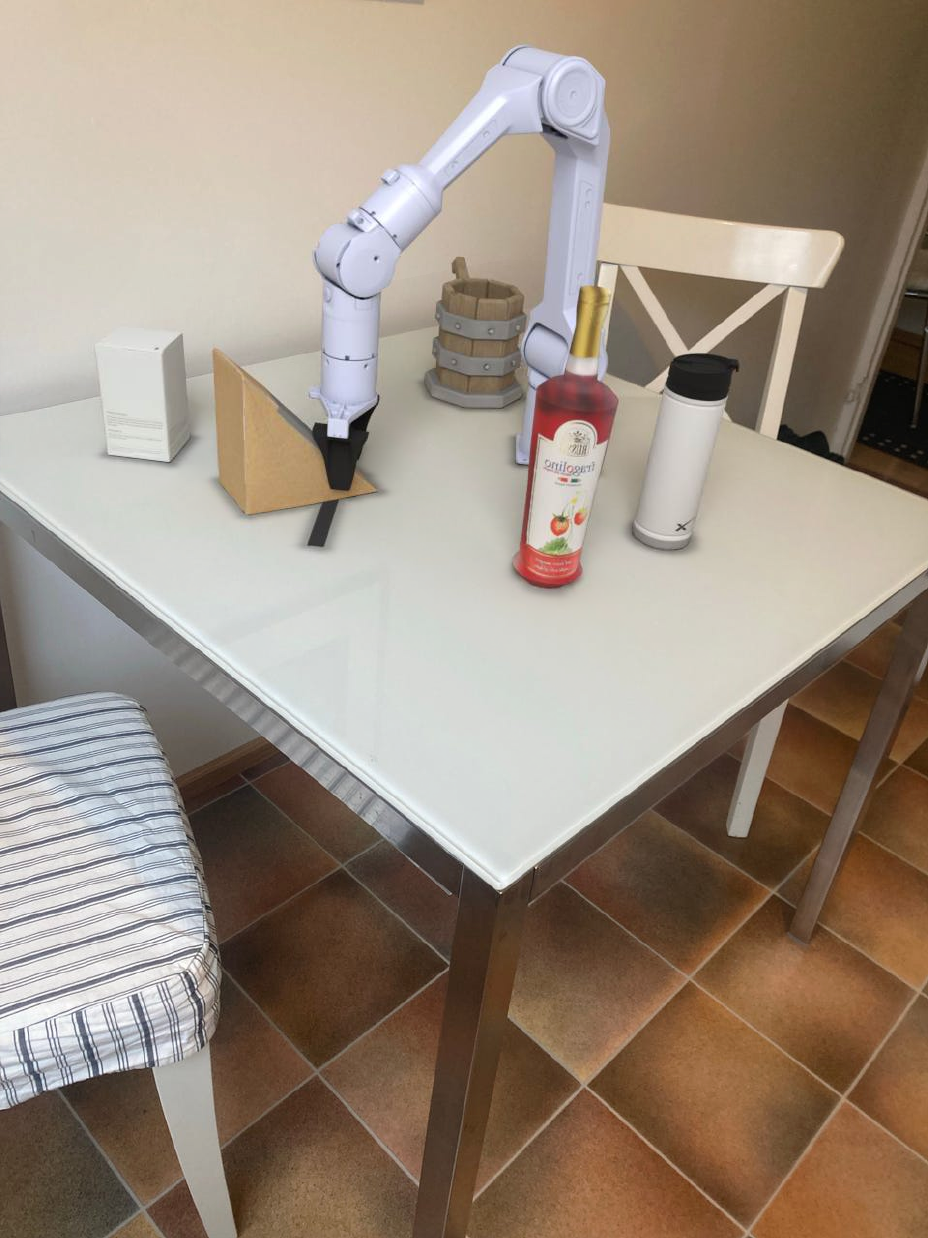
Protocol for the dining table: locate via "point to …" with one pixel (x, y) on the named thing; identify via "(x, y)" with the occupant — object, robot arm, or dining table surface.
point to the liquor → (567, 453)
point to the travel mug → (682, 448)
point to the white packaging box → (143, 392)
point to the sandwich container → (267, 447)
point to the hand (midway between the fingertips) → (345, 472)
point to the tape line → (323, 523)
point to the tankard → (477, 342)
